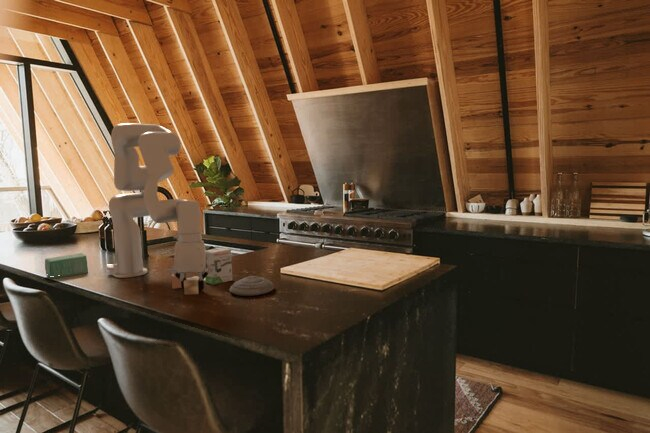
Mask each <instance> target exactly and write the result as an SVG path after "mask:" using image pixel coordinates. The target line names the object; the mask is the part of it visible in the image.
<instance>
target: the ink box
mask: <svg viewBox="0 0 650 433" xmlns="http://www.w3.org/2000/svg"><path fill="white" fill-rule="evenodd" d="M206 254H207V261H208V263H209V264H210V265H211V266H212V268H213V269H214V270H213V271H212V272H211V273H209V274H208V275H207V276H206V277H205V279H206V282H205V283H206V284H210V285H213V286H214V285H218V284H222V283H226V282H230V281H233V266H232V249H230V248H228V247H227V248H226V247H219V248H212V249H206ZM207 270H208V269H207V268H206V269H205V271H204V273H205V272H206V271H207Z"/></svg>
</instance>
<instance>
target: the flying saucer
mask: <svg viewBox="0 0 650 433" xmlns="http://www.w3.org/2000/svg"><path fill="white" fill-rule="evenodd" d="M275 287H276V286H275V285H274V283H273V282H272V281H271V280H269V279H268V278H265V277H261V276H256V275H251V276H247V277H246V276H245V277H244V278H240V279H238V280H237V281H235V282H233V284H231V286H230V288H229V290H228V291H229V292H230V293H231V294H234V295H237V296H247V297H250V296H252V297H253V296H259V295H264V294H267V293H270V292H272V291H274V290H275Z"/></svg>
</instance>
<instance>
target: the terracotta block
mask: <svg viewBox="0 0 650 433" xmlns="http://www.w3.org/2000/svg"><path fill="white" fill-rule="evenodd" d="M171 287H172V288H171V289H182V288H181V281H180V279H178V278H177V277H176V276H175V275H174V274H172V273H171Z"/></svg>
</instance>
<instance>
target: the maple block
mask: <svg viewBox="0 0 650 433" xmlns="http://www.w3.org/2000/svg"><path fill="white" fill-rule="evenodd" d="M193 277H194V278H192V277H186V280H184V293H183V294H184V295H199V294H200V293H199V288H198V281H199V277H196V276H193Z"/></svg>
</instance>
